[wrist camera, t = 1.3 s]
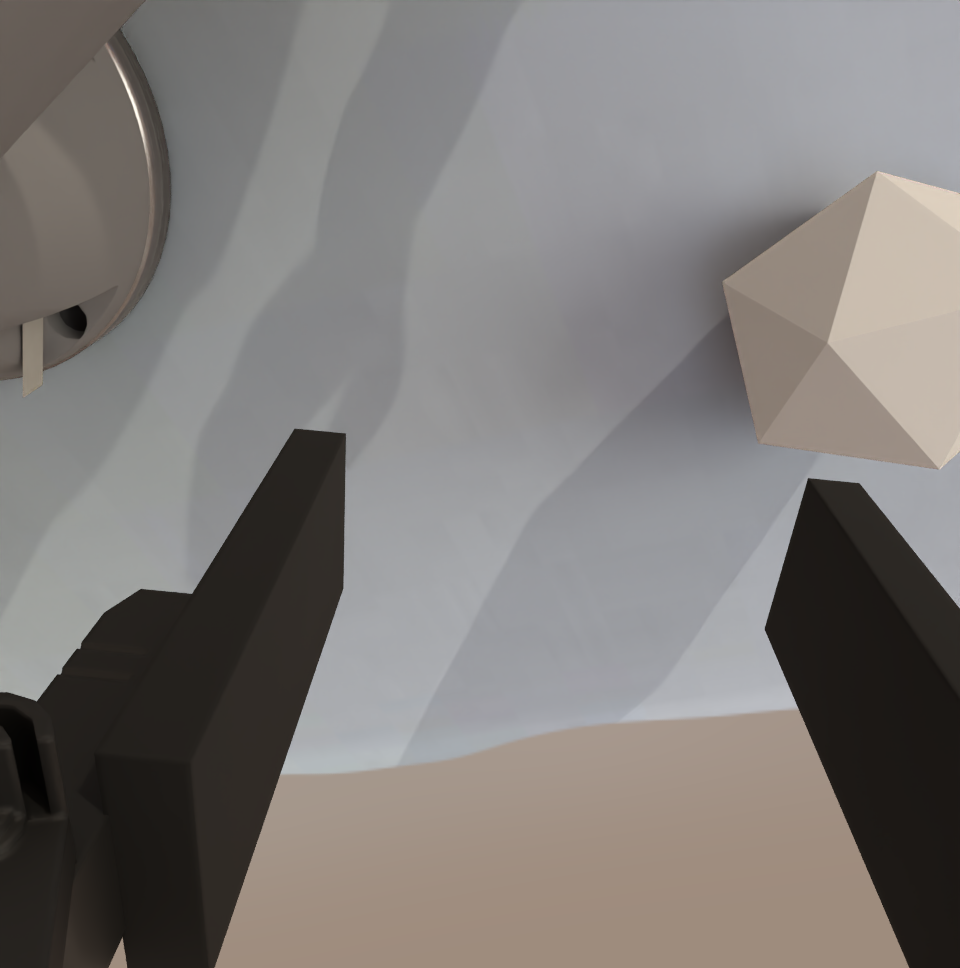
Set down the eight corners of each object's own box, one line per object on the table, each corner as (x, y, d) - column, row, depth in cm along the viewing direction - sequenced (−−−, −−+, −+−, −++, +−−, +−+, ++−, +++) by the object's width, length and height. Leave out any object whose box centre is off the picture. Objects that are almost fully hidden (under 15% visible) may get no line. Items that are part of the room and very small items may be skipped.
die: (878, 440, 33) (1170, 414, 24) (695, 500, 30) (953, 495, 20) (832, 223, 32) (1113, 109, 23) (639, 259, 29) (878, 142, 20)
